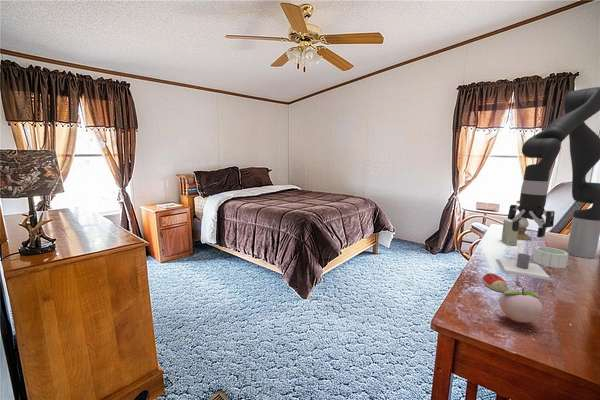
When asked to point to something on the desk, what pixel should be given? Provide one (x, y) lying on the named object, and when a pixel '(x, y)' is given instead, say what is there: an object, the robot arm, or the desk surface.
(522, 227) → the candle holder
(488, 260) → the desk surface
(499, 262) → the mat
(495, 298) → the desk surface
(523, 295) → the decorative fruit
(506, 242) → the skincare box
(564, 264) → the bowl
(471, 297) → the desk surface
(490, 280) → the ladybug figurine
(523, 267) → the lid
